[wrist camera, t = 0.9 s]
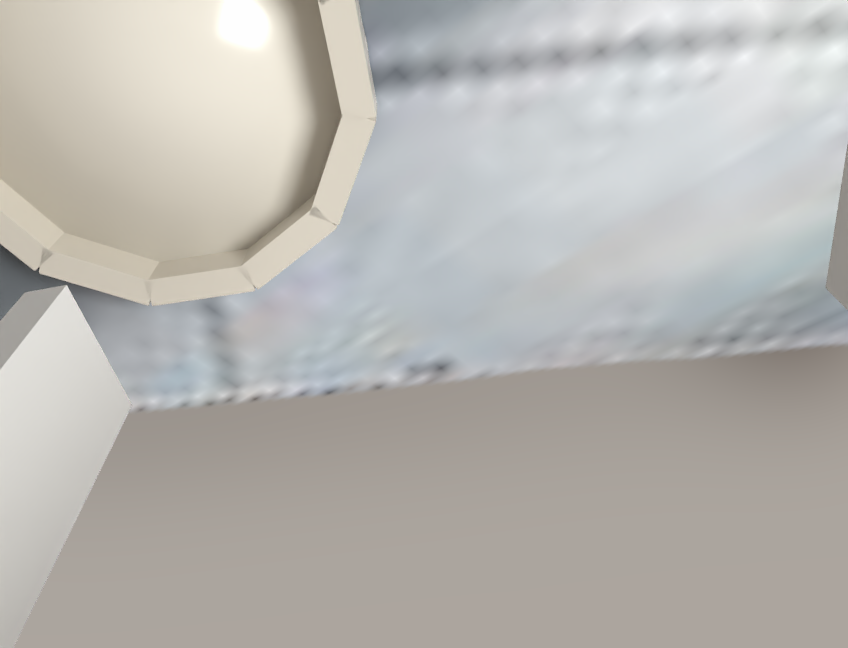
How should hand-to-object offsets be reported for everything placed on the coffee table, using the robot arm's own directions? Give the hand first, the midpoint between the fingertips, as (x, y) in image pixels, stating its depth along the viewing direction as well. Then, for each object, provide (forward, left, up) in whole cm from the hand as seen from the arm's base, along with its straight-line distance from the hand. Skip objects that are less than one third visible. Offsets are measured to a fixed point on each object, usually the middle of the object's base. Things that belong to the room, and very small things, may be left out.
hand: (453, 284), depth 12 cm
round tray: (0, -13, -24) cm, 27 cm away
